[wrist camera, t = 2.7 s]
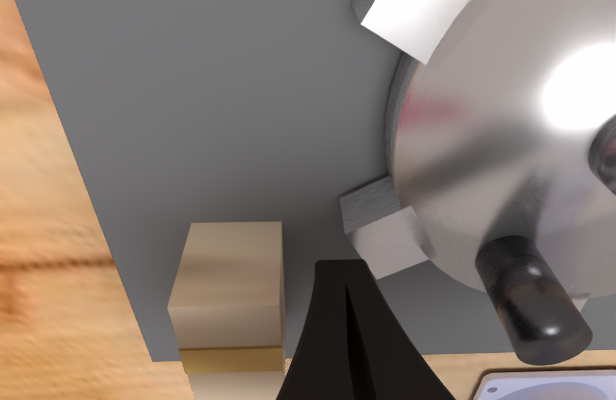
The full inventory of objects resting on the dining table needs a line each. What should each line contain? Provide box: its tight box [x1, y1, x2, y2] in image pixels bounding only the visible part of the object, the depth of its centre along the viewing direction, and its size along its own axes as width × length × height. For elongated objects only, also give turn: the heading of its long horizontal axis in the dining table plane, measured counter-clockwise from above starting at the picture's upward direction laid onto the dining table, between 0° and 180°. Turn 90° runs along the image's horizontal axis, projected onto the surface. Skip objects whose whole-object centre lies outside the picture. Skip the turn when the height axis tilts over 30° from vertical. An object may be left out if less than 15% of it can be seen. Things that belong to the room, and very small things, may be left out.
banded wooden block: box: [167, 221, 286, 400], centre depth 14 cm, size 5×3×4 cm, turn 0°
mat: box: [15, 0, 616, 362], centre depth 14 cm, size 20×24×1 cm
